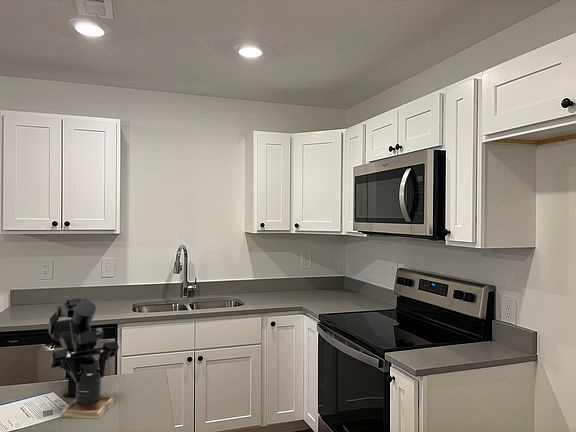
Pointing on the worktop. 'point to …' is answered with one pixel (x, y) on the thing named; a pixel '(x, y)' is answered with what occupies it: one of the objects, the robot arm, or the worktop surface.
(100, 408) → the tray
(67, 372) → the robot arm
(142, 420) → the worktop surface
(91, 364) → the supplement bottle
